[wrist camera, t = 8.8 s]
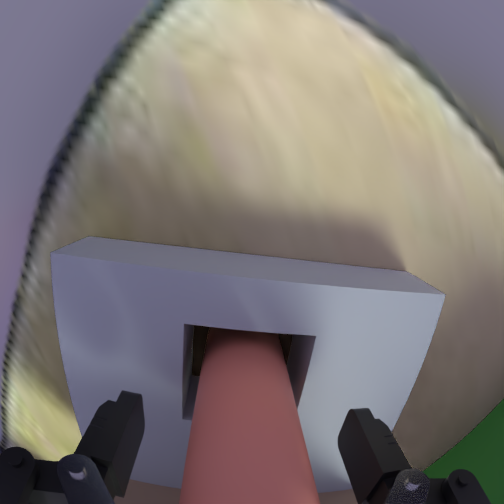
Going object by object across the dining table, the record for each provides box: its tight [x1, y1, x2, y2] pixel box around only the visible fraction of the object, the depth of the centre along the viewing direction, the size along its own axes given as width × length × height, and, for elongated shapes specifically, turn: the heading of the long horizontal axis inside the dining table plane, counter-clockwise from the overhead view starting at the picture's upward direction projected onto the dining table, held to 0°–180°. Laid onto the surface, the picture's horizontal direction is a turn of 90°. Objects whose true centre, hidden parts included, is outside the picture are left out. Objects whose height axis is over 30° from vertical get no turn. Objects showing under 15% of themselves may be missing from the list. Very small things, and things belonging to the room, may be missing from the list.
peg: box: [179, 327, 320, 504], centre depth 11 cm, size 4×4×12 cm
